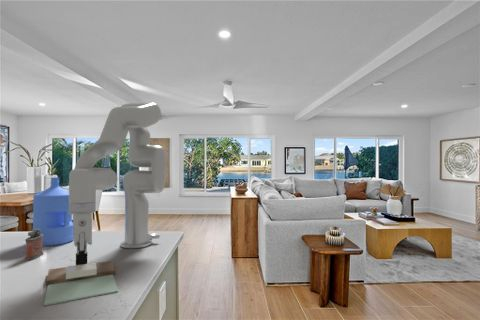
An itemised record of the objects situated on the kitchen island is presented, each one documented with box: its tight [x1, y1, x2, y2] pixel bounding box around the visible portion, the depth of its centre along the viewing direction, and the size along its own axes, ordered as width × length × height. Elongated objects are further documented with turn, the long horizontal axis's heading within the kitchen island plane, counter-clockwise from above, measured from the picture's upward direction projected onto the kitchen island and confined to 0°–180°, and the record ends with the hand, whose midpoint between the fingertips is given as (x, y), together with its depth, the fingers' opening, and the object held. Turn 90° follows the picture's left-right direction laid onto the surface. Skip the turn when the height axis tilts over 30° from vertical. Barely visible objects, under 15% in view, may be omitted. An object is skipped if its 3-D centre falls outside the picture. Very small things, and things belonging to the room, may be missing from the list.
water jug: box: [32, 177, 74, 247], centre depth 130 cm, size 16×16×28 cm
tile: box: [66, 262, 97, 279], centre depth 90 cm, size 8×6×2 cm
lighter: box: [25, 229, 44, 262], centre depth 109 cm, size 8×3×10 cm, turn 5°
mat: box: [43, 274, 119, 307], centre depth 82 cm, size 17×13×1 cm
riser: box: [45, 260, 116, 287], centre depth 92 cm, size 18×10×2 cm, turn 119°
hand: (81, 265), depth 94 cm, fingers closed
